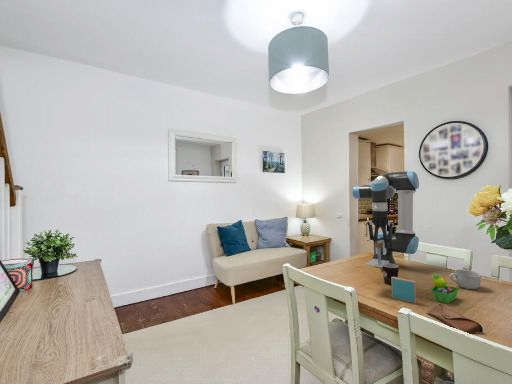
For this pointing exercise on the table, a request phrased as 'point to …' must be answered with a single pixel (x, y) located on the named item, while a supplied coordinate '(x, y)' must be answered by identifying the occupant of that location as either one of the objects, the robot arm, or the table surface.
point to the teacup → (466, 279)
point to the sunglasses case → (455, 319)
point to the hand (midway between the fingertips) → (381, 253)
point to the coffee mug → (389, 272)
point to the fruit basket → (443, 290)
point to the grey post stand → (378, 261)
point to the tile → (403, 289)
